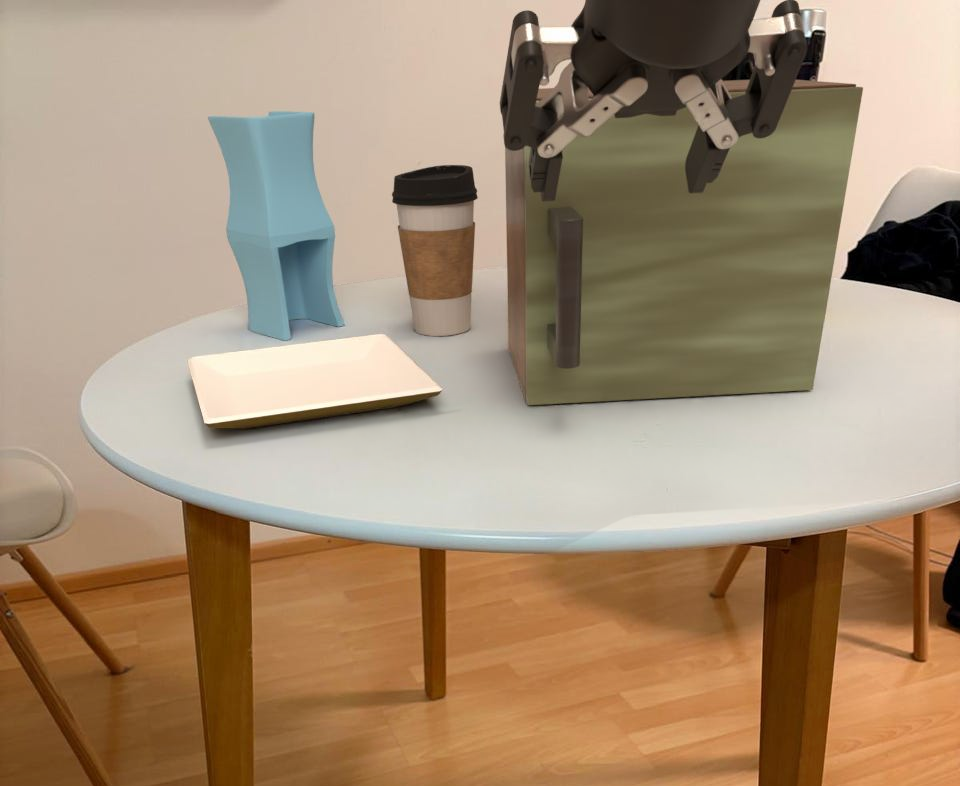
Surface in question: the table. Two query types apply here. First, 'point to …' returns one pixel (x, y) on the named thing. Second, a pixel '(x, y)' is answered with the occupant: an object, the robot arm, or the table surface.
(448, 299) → the coffee cup
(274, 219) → the vase
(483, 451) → the table surface
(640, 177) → the door
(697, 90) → the robot arm
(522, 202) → the cupboard
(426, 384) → the plate
